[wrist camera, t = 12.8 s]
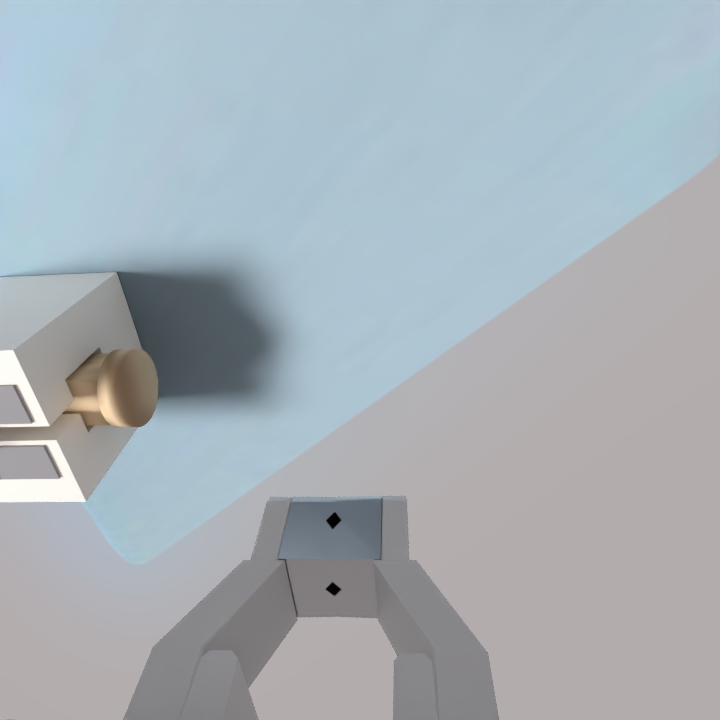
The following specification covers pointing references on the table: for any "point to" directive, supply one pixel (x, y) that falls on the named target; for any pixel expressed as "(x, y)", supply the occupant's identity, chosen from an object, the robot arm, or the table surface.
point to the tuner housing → (56, 383)
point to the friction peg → (114, 388)
